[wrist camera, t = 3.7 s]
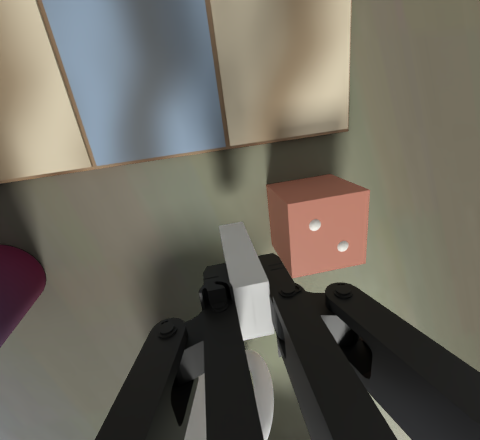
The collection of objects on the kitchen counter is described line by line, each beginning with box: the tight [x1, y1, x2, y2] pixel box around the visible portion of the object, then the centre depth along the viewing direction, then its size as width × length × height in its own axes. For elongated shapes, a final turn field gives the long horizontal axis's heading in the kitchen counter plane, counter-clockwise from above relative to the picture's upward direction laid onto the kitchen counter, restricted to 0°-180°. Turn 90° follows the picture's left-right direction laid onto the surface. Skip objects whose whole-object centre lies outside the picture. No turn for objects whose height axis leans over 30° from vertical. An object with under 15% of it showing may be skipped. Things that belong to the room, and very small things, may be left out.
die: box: [266, 174, 370, 278], centre depth 18 cm, size 5×5×5 cm
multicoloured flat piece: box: [0, 0, 352, 184], centre depth 16 cm, size 26×9×1 cm, turn 97°
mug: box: [184, 350, 274, 440], centre depth 20 cm, size 12×8×10 cm
